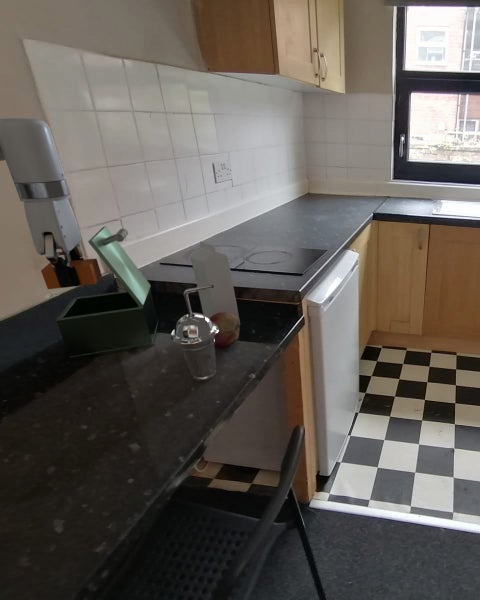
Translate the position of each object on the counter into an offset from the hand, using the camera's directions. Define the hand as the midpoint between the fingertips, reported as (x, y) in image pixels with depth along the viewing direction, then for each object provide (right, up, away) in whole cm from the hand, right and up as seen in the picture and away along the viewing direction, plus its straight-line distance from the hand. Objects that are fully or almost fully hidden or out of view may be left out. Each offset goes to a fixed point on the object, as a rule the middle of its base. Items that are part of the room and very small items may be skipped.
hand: (75, 280), depth 82 cm
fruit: (+26, -15, +12) cm, 32 cm away
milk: (+21, -11, +21) cm, 32 cm away
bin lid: (+3, +4, +9) cm, 10 cm away
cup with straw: (+26, -20, +1) cm, 33 cm away
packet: (0, 0, 0) cm, 0 cm away
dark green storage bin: (-1, -14, +14) cm, 20 cm away
